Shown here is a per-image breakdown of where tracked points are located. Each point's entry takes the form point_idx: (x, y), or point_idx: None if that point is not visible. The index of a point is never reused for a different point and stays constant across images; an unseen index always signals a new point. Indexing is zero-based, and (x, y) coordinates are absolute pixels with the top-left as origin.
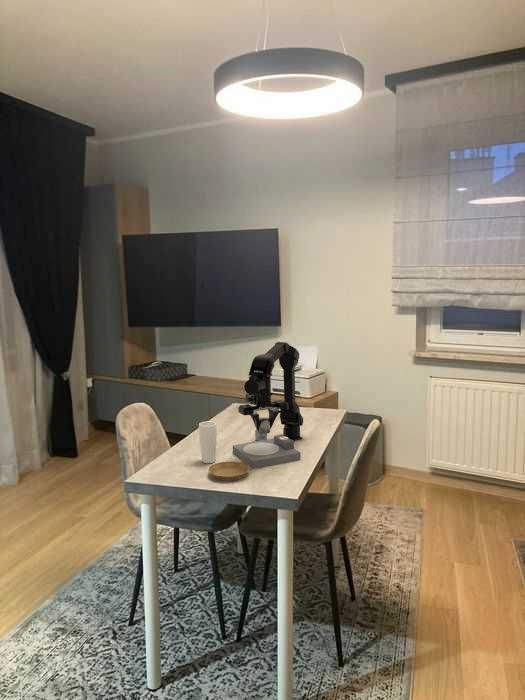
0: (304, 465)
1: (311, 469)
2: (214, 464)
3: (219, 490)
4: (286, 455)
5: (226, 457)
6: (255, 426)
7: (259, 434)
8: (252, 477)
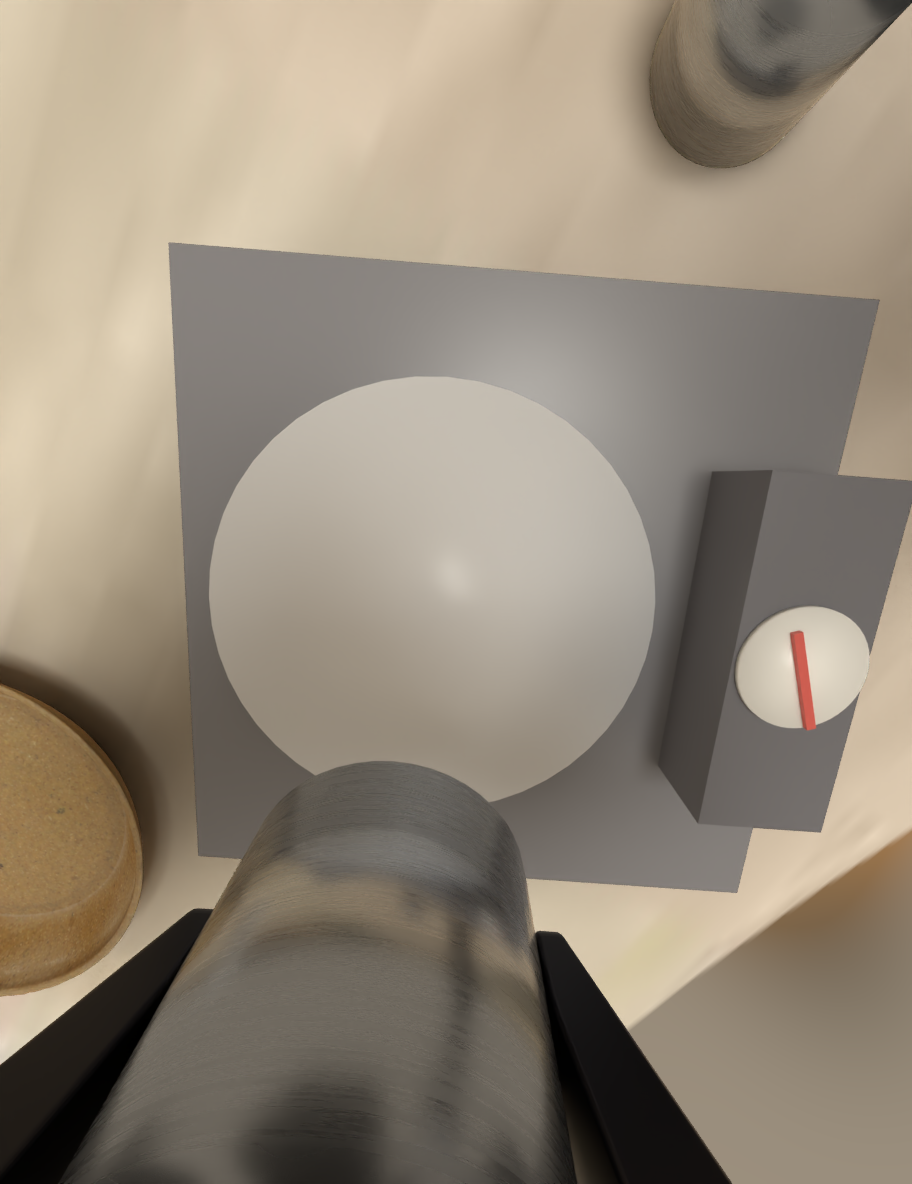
0: (641, 941)
1: (631, 1020)
2: None
3: None
4: (572, 876)
5: (101, 401)
6: (109, 995)
7: (734, 35)
8: (159, 935)
